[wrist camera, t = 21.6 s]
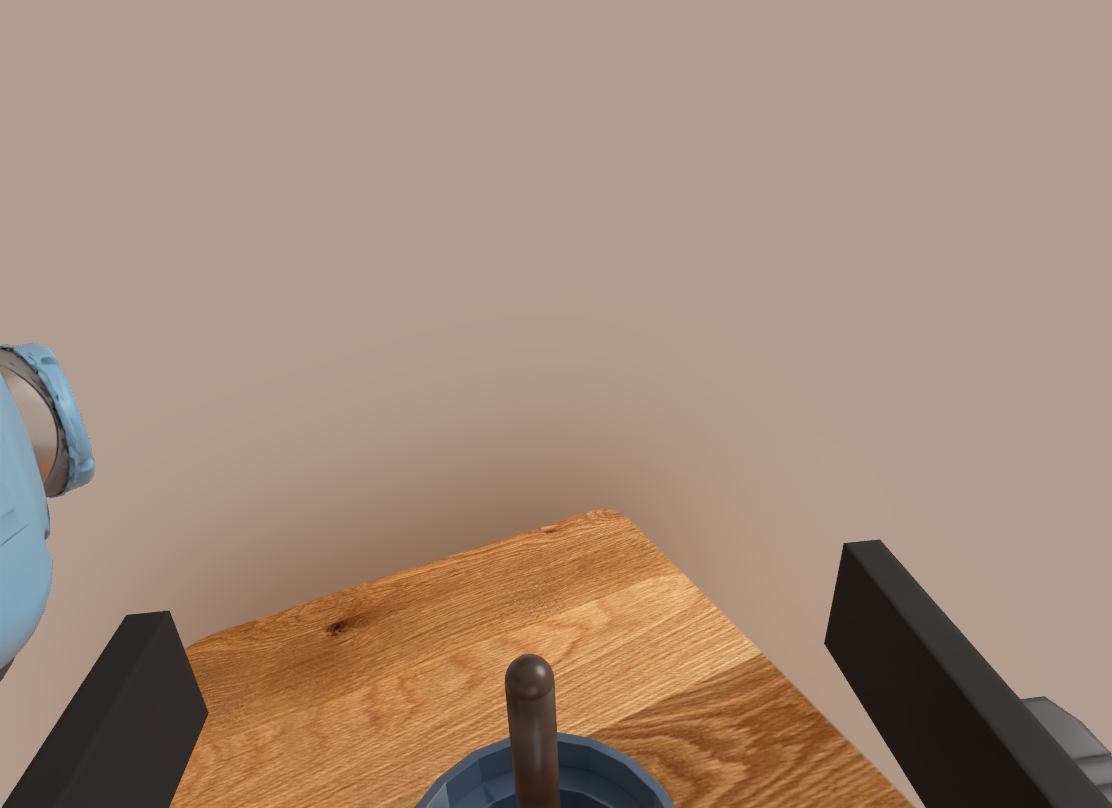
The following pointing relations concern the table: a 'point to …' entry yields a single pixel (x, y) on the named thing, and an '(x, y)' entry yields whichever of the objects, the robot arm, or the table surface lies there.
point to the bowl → (584, 779)
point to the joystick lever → (533, 732)
